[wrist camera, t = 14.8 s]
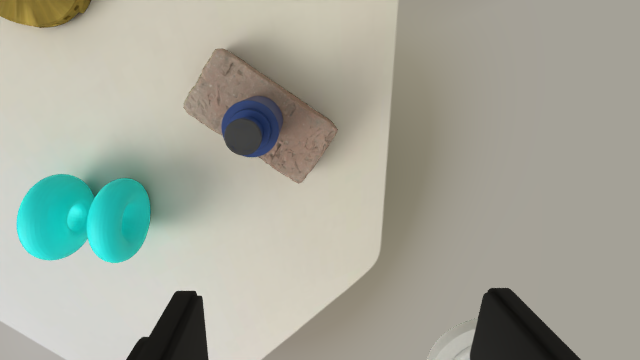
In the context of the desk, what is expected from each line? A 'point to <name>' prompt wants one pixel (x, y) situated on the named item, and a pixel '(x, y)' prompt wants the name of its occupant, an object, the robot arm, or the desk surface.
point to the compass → (42, 11)
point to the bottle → (252, 126)
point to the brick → (244, 82)
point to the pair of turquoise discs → (83, 218)
